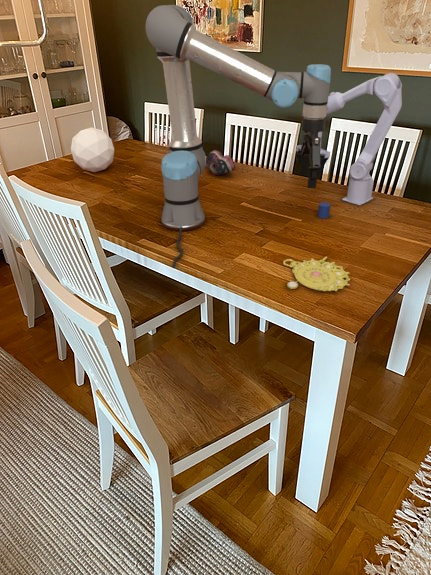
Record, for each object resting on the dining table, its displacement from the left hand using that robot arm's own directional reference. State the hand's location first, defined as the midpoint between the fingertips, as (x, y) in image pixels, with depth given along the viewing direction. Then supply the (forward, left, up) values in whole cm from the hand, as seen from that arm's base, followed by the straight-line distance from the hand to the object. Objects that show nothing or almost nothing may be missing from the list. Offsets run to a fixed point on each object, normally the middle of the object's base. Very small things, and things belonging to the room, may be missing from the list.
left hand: (307, 181), depth 156 cm
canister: (-6, -5, -11) cm, 14 cm away
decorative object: (-45, +12, -11) cm, 47 cm away
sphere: (+67, +80, -11) cm, 105 cm away
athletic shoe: (+50, +25, -11) cm, 57 cm away
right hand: (+18, -8, -3) cm, 19 cm away
